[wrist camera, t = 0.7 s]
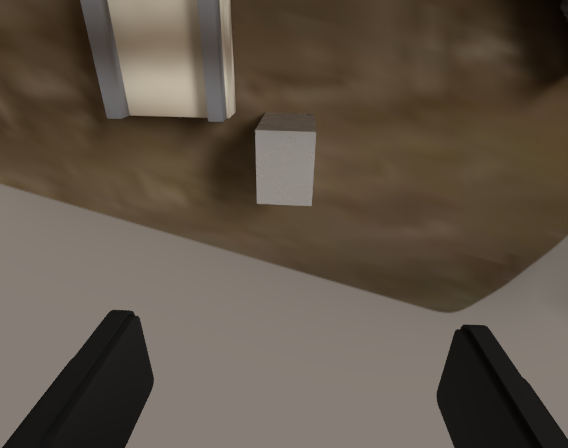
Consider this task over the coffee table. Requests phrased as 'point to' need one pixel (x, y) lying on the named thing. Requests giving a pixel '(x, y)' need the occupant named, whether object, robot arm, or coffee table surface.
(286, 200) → the tall white block
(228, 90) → the cradle
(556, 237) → the coffee table surface
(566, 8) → the flashlight
